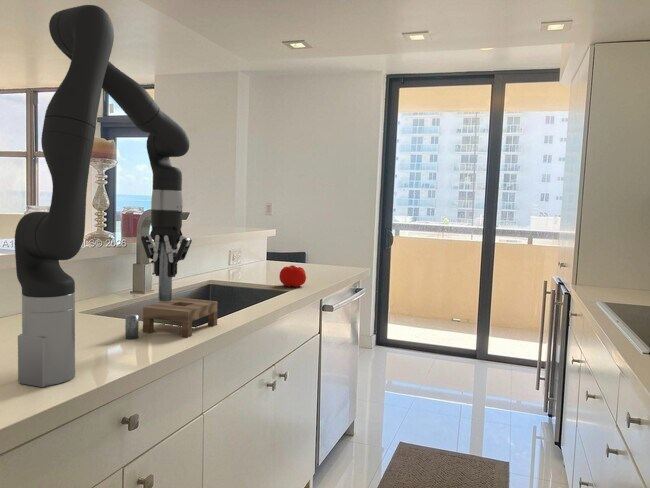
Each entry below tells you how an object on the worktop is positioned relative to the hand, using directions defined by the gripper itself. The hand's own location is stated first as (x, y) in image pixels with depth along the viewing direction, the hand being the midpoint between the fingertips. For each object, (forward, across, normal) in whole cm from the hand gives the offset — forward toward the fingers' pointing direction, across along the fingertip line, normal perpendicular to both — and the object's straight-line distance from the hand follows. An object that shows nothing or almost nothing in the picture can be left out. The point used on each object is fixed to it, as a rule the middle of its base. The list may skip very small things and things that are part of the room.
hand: (165, 276), depth 130 cm
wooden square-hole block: (+17, -4, +14) cm, 23 cm away
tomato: (+16, -2, +100) cm, 102 cm away
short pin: (+17, -10, 0) cm, 20 cm away
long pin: (+6, 0, 0) cm, 6 cm away
